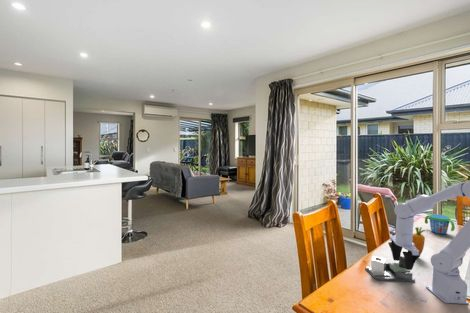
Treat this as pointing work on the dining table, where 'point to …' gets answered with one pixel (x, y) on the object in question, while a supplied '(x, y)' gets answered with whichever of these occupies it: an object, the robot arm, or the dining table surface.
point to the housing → (378, 265)
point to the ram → (399, 265)
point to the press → (391, 275)
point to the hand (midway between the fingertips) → (402, 264)
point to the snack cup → (439, 223)
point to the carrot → (418, 240)
